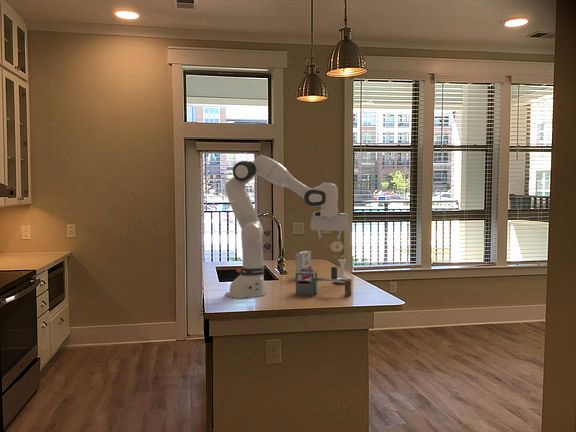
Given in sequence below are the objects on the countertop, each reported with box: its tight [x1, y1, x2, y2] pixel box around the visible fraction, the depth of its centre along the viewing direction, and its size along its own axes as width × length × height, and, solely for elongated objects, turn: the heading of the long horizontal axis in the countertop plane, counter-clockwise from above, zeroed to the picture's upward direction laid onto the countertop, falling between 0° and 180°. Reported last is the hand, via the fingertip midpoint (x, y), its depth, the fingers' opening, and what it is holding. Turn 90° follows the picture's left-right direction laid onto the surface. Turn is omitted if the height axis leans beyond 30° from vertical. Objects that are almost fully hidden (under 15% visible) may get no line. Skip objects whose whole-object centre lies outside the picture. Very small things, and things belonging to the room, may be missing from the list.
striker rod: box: [309, 265, 348, 295], centre depth 266 cm, size 20×6×14 cm, turn 78°
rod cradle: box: [344, 278, 352, 297], centre depth 264 cm, size 3×5×8 cm, turn 168°
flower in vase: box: [329, 240, 353, 284], centre depth 298 cm, size 13×11×25 cm
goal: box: [295, 269, 318, 297], centre depth 269 cm, size 10×12×12 cm
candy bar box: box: [294, 250, 313, 280], centre depth 317 cm, size 11×5×16 cm, turn 143°
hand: (329, 238), depth 267 cm, fingers open, 8 cm apart
